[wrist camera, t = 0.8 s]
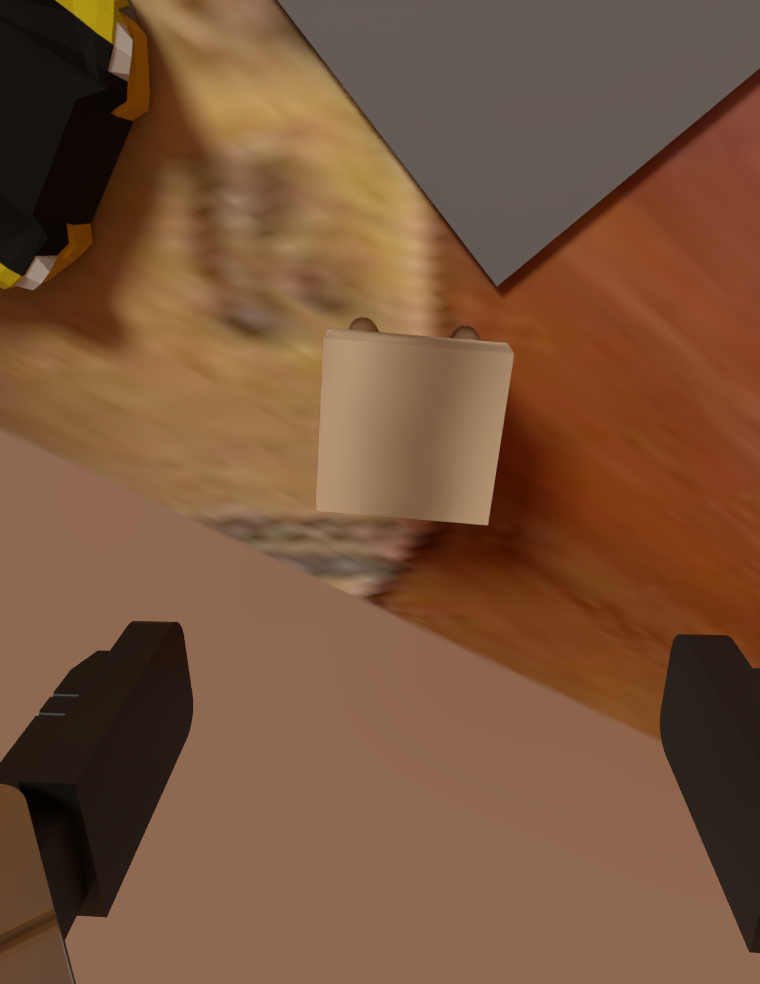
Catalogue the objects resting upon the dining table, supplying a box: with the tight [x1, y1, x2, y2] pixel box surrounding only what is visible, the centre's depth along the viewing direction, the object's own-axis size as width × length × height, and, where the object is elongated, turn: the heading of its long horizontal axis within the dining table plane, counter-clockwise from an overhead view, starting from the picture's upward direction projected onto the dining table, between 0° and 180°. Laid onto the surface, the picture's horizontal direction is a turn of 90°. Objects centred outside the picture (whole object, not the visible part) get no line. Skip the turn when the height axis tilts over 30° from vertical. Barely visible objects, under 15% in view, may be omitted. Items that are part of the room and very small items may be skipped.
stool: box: [316, 317, 514, 525], centre depth 28 cm, size 6×6×7 cm
